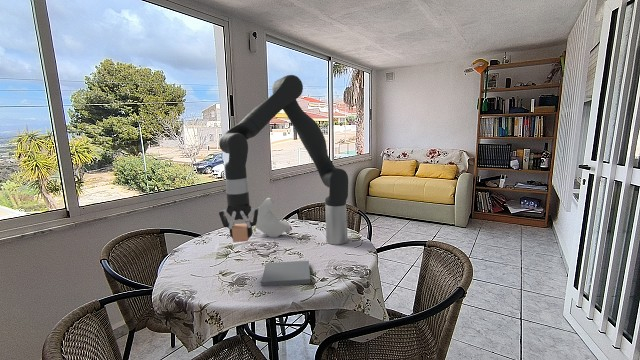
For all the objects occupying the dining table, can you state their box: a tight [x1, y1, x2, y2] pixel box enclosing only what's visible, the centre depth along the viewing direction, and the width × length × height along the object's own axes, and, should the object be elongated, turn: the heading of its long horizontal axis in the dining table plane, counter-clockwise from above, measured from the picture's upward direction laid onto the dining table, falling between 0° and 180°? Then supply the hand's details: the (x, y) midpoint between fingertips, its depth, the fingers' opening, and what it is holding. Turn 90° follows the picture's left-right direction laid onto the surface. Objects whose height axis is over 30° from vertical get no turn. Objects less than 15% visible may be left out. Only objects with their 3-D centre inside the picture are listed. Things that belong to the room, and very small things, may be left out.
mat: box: [260, 260, 311, 287], centre depth 105 cm, size 16×14×2 cm
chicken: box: [252, 197, 293, 238], centre depth 144 cm, size 7×19×20 cm
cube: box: [232, 222, 250, 243], centre depth 107 cm, size 5×5×5 cm
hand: (241, 237), depth 107 cm, fingers closed on cube, 5 cm apart
